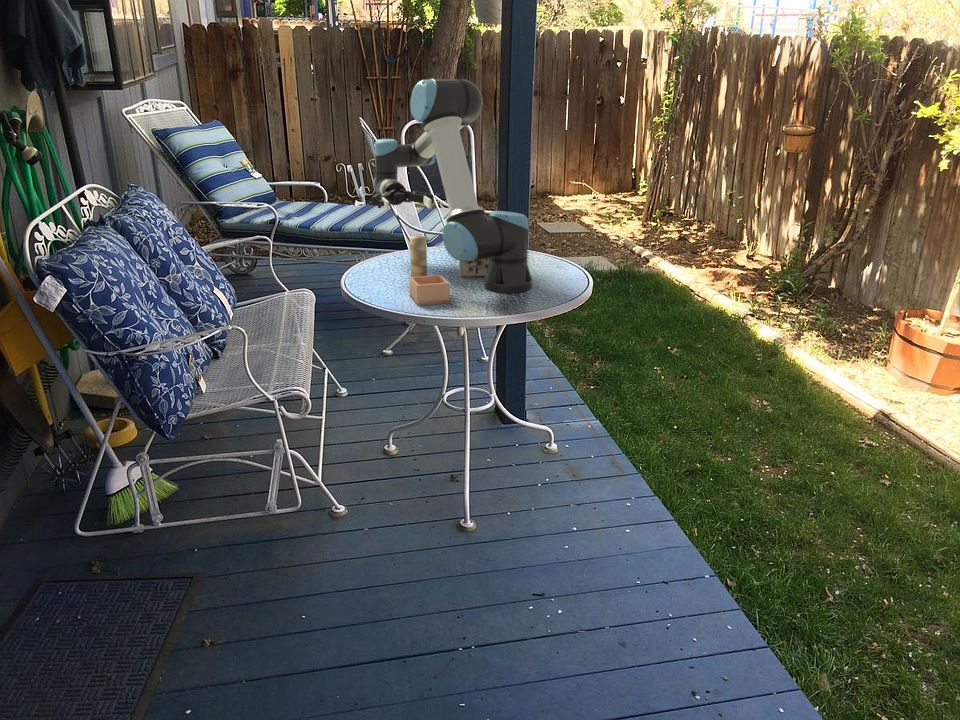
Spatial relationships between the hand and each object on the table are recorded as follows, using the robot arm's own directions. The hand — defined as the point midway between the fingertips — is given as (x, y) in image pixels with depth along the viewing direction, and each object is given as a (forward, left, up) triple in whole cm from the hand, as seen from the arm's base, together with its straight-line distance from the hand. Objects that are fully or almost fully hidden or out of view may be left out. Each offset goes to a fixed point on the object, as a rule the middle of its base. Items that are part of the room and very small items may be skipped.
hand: (409, 205), depth 231 cm
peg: (0, +10, -24) cm, 26 cm away
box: (0, +23, -24) cm, 33 cm away
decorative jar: (-23, -3, -24) cm, 34 cm away
